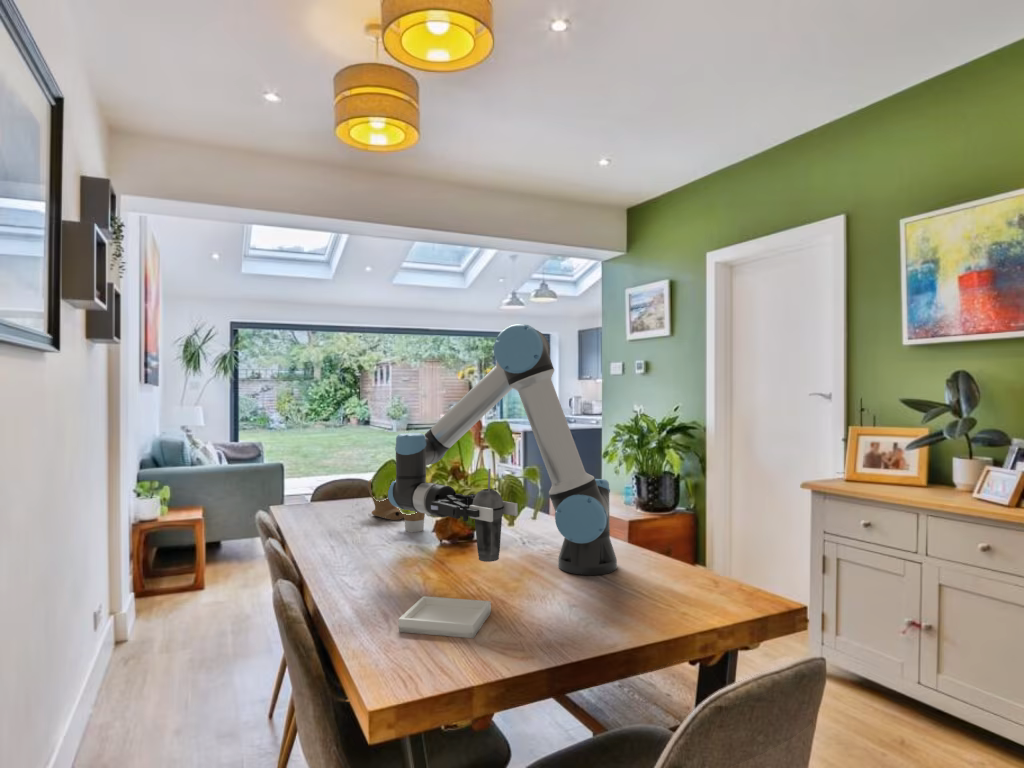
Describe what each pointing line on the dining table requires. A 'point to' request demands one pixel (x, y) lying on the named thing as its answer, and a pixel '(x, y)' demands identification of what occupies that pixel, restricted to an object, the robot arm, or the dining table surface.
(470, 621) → the tray
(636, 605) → the dining table surface
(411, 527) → the coffee cup
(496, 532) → the beverage cup
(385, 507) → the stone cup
